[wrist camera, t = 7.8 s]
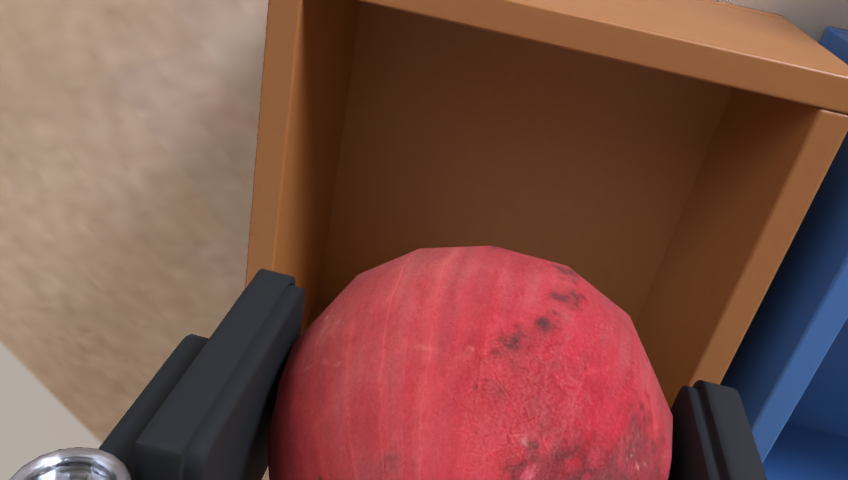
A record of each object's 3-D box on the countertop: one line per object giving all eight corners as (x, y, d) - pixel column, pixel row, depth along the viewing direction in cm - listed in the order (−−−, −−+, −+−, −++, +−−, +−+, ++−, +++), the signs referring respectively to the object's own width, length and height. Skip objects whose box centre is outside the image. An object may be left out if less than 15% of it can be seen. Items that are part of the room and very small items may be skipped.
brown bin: (353, -82, 17) (271, -56, 12) (782, 15, 17) (874, 82, 12) (302, 302, 23) (233, 426, 18) (626, 385, 22) (644, 535, 17)
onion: (571, 114, 12) (588, 461, 5) (687, 372, 14) (811, 871, 7) (290, 235, 14) (35, 603, 7) (426, 447, 16) (328, 893, 9)
